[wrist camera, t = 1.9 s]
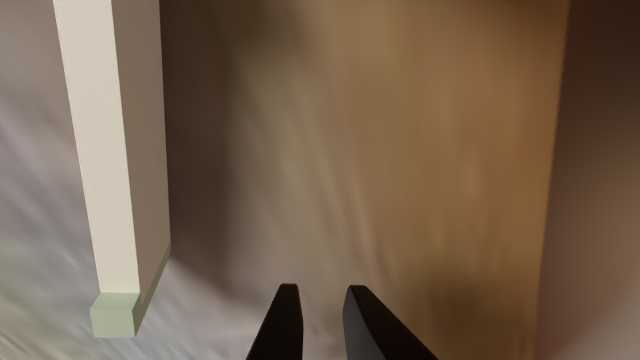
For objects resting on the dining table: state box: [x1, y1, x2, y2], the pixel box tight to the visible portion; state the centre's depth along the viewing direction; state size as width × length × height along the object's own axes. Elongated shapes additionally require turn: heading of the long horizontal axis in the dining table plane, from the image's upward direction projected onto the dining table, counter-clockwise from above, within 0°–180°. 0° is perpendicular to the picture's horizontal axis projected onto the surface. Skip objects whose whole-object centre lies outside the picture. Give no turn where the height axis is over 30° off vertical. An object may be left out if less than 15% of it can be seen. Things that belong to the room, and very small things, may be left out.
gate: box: [53, 0, 171, 338], centre depth 14 cm, size 16×2×6 cm, turn 172°
